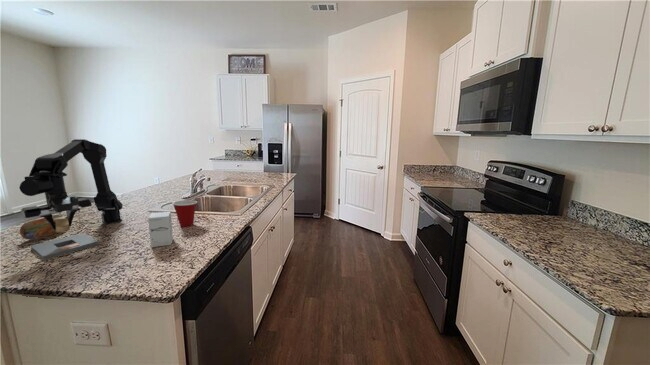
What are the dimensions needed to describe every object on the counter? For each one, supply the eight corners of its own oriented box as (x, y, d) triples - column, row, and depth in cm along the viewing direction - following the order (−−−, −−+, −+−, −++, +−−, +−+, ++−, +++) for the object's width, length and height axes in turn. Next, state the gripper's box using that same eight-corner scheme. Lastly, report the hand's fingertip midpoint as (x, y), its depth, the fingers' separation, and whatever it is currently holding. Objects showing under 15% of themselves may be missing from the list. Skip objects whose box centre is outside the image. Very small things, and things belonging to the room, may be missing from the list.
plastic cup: (203, 221, 137) (201, 199, 135) (190, 229, 126) (188, 205, 124) (183, 220, 138) (181, 198, 136) (169, 228, 127) (167, 204, 125)
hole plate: (83, 236, 117) (83, 232, 117) (98, 244, 109) (98, 240, 108) (31, 249, 103) (30, 245, 103) (43, 260, 95) (42, 255, 95)
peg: (67, 227, 107) (65, 216, 106) (71, 229, 105) (69, 217, 104) (54, 230, 104) (51, 218, 103) (57, 233, 102) (55, 220, 101)
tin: (26, 243, 109) (21, 224, 107) (20, 242, 110) (16, 223, 108) (67, 230, 123) (64, 212, 122) (62, 229, 124) (59, 212, 122)
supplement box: (150, 248, 106) (146, 218, 104) (154, 241, 113) (150, 212, 110) (171, 245, 109) (168, 216, 107) (173, 238, 116) (170, 210, 113)
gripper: (24, 197, 90) (34, 240, 93) (93, 187, 105) (100, 225, 108) (16, 193, 95) (25, 233, 98) (83, 184, 111) (89, 219, 114)
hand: (62, 227), depth 105 cm, fingers closed on peg, 4 cm apart
